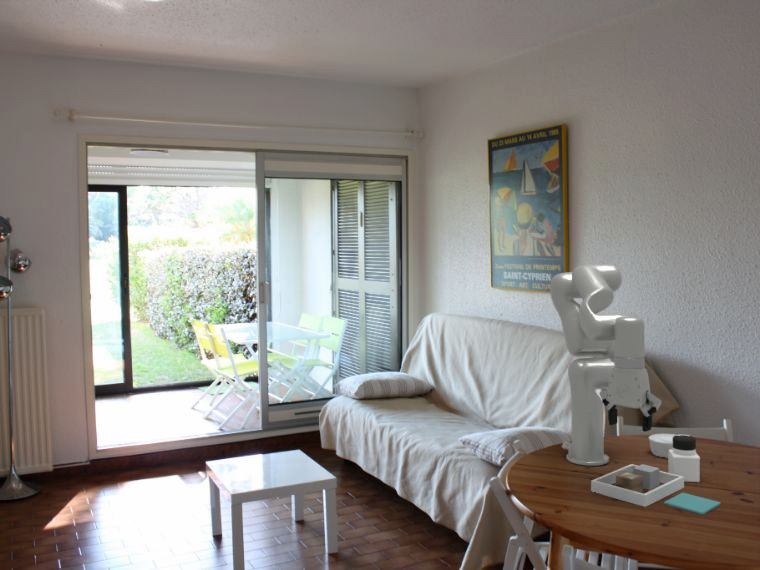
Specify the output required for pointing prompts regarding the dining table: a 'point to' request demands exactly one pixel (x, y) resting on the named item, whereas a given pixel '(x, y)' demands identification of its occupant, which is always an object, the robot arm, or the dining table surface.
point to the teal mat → (692, 503)
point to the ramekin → (661, 444)
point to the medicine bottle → (684, 458)
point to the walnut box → (630, 481)
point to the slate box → (648, 476)
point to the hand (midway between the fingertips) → (629, 427)
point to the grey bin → (606, 488)
